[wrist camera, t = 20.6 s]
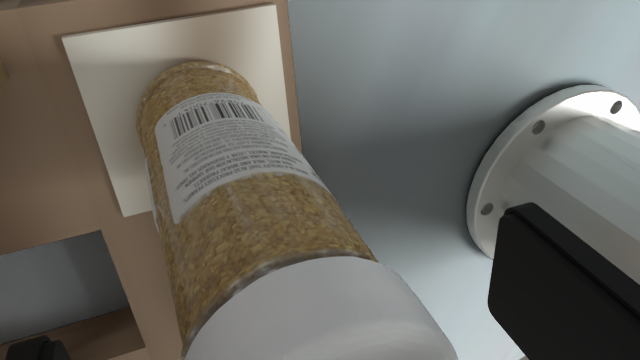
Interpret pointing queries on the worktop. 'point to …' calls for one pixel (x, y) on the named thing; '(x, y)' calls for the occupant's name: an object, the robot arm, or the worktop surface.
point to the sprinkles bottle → (263, 236)
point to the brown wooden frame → (115, 136)
